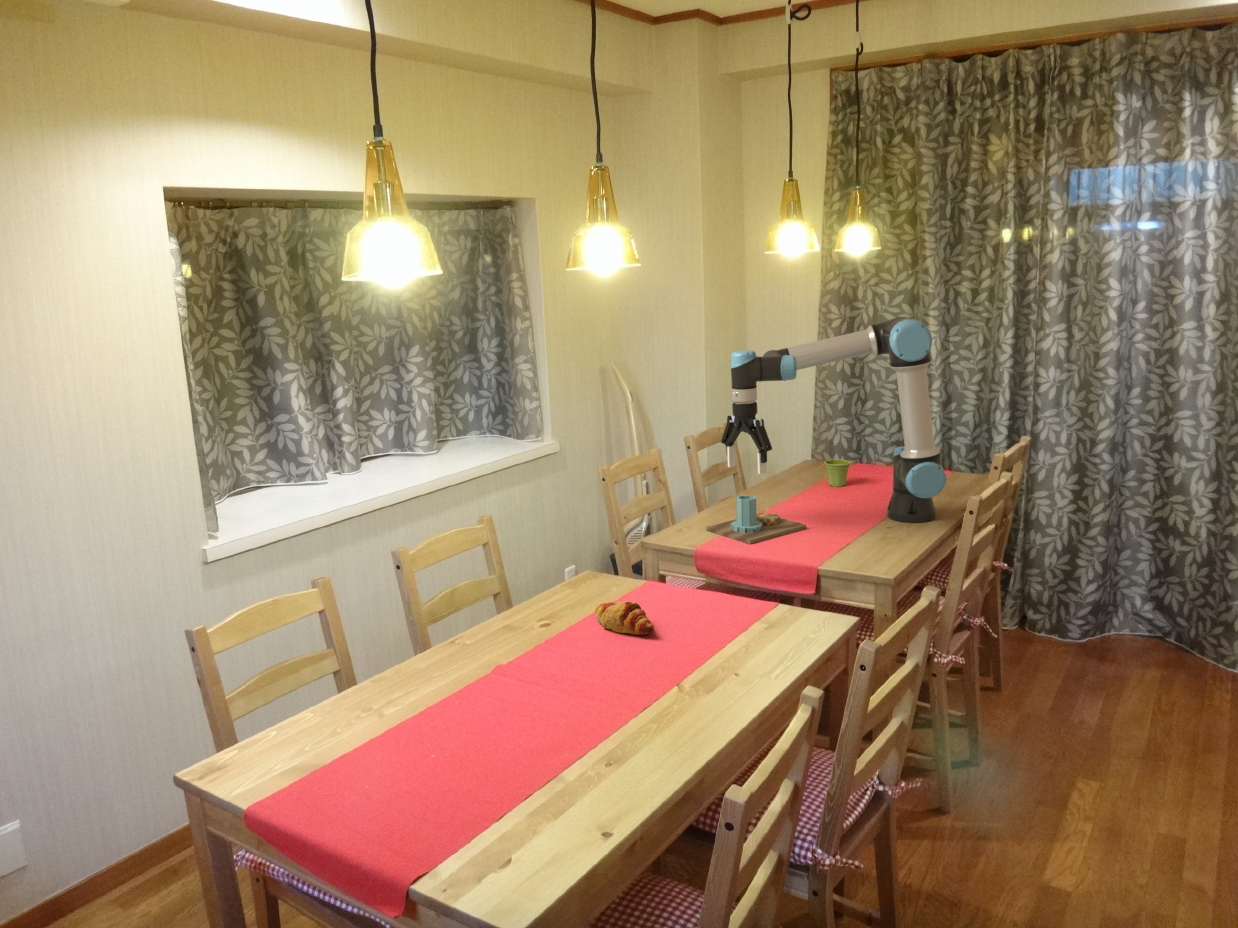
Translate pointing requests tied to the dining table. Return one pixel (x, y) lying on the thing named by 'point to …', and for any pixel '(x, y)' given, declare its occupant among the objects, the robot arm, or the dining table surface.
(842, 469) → the plant pot
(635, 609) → the croissant
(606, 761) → the dining table surface
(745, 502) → the gear
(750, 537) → the carrier board
